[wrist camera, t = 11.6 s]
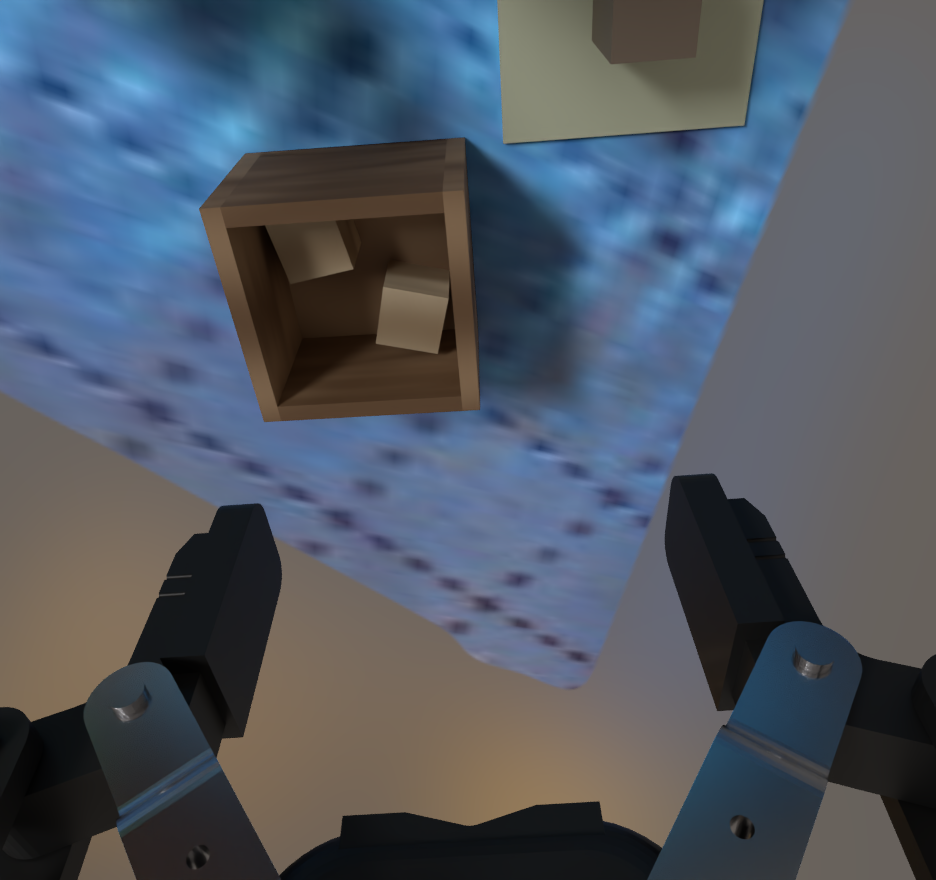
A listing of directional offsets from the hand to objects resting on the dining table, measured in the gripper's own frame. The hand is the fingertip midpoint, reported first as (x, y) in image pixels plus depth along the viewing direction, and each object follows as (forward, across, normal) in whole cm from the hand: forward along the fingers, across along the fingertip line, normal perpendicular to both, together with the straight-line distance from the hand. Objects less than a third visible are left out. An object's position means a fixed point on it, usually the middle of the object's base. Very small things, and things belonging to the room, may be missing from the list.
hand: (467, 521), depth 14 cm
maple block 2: (+23, +3, +5) cm, 24 cm away
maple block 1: (+23, +7, +1) cm, 24 cm away
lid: (+24, -8, -7) cm, 26 cm away
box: (+24, +5, +3) cm, 24 cm away
